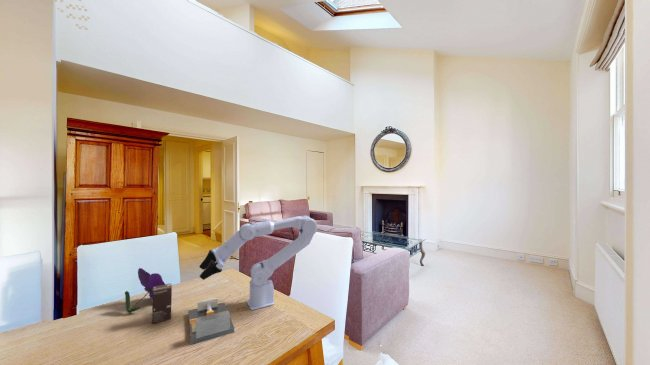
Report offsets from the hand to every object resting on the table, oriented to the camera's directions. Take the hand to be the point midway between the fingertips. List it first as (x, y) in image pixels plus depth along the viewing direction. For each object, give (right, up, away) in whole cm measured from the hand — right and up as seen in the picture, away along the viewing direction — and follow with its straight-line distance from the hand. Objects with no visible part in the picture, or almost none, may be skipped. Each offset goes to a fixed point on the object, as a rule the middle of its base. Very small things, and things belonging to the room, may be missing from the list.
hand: (201, 272), depth 98 cm
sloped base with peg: (+6, -16, -7) cm, 18 cm away
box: (-12, -15, -5) cm, 20 cm away
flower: (-25, -15, +4) cm, 29 cm away
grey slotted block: (+4, -13, -3) cm, 14 cm away
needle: (+5, -14, -9) cm, 17 cm away
